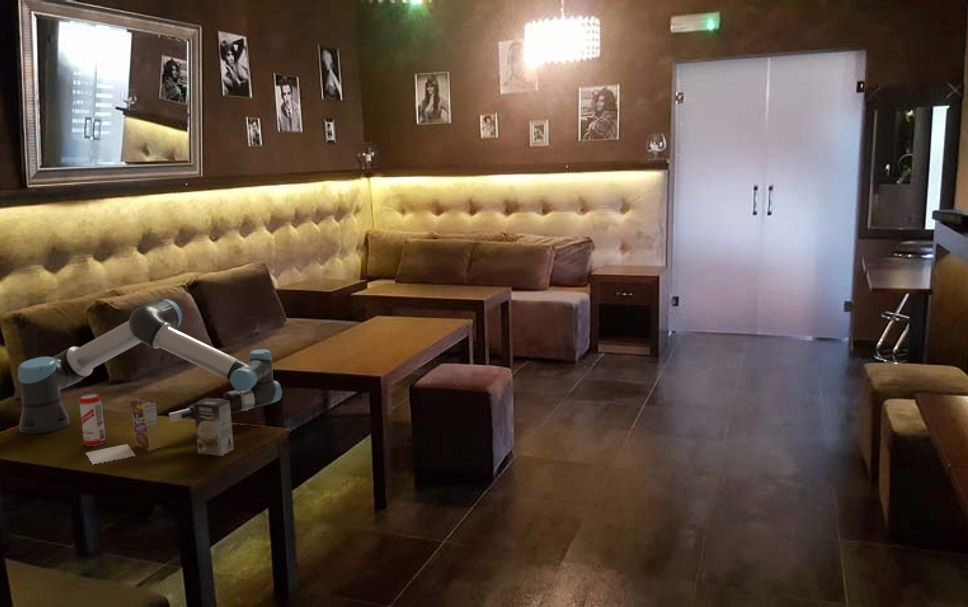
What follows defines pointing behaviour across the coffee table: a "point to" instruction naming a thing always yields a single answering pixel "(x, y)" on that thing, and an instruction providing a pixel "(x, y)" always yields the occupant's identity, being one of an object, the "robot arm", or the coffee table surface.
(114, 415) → the coffee table surface
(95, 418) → the beer can
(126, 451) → the mat
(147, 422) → the candy box
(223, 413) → the coffee box
